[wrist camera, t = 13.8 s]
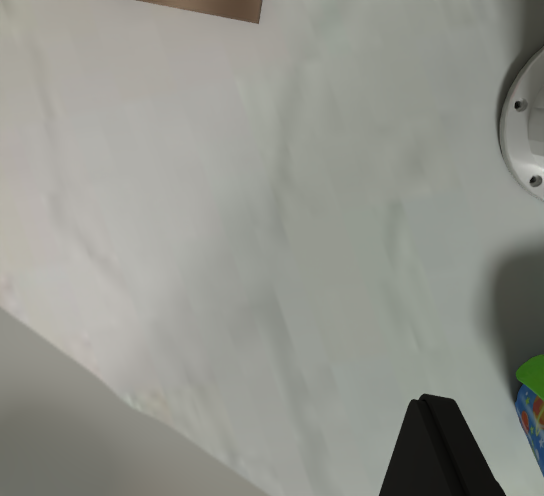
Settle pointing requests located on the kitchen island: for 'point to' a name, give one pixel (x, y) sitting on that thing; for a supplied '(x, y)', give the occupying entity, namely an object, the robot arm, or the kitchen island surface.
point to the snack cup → (532, 405)
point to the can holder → (218, 7)
